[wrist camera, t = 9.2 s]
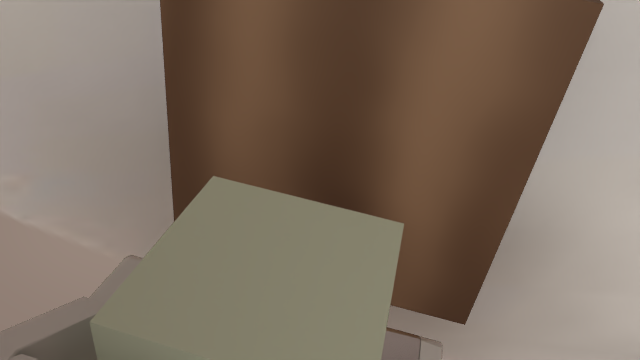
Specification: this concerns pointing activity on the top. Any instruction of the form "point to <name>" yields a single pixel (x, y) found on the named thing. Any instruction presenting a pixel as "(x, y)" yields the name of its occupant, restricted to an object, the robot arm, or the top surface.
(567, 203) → the top surface
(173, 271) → the sage block
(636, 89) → the top surface
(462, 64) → the walnut base
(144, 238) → the top surface
